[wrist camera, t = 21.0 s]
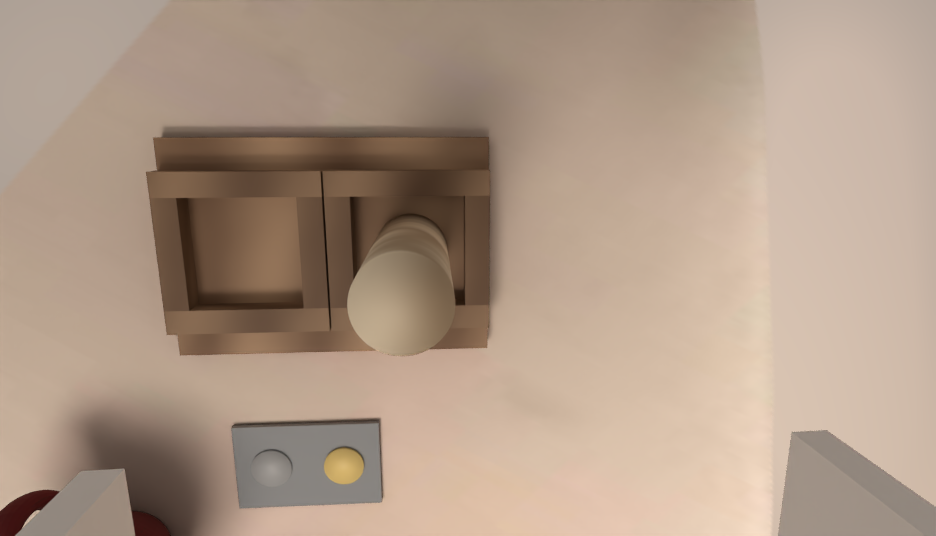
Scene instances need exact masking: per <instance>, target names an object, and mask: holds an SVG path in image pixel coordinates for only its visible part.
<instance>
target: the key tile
mask: <svg viewBox="0 0 936 536" xmlns="http://www.w3.org/2000/svg"><path fill="white" fill-rule="evenodd" d="M231 431H232V440H233V450H234V459H235V469H236V478H237V488H238V497H239V507H240V508H261V507H284V506H308V505H332V504H356V503H380V502H382V483H381V458H380V433H379V421H354V422H323V423H292V424H262V425H233V426H232V428H231Z"/></svg>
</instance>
